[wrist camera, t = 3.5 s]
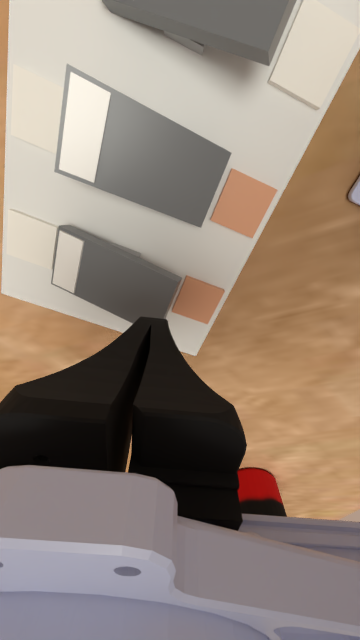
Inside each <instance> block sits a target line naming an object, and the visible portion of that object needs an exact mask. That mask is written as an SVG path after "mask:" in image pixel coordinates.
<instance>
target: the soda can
mask: <svg viewBox="0 0 360 640" xmlns="http://www.w3.org/2000/svg"><path fill="white" fill-rule="evenodd" d="M237 473H238V478H239V484H240V485H239V489H238V496H239V502H240V507H241V513H242V514H254V515H268V516H282V517H287V516H286V512H285V509H284V506H283V503H282V499H281V496H280V493H279V490H278V486H277V483H276V480H275V478H274V477H273V476H272V475H271V474H270V473H268V472H267V471H264V470H261V469H256V468H247V469H241V470H238V472H237Z"/></svg>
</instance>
